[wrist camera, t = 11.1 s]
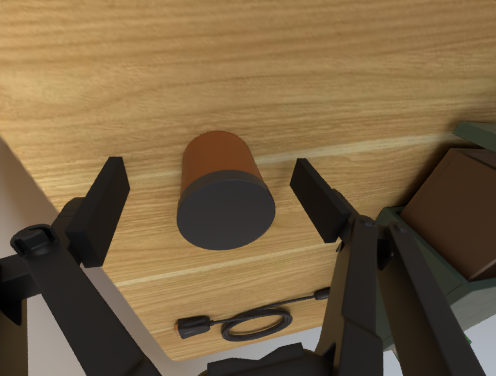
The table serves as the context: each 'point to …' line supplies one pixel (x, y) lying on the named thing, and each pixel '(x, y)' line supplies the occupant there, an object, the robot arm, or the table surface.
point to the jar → (222, 194)
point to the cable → (203, 323)
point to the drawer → (461, 205)
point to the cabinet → (451, 283)
